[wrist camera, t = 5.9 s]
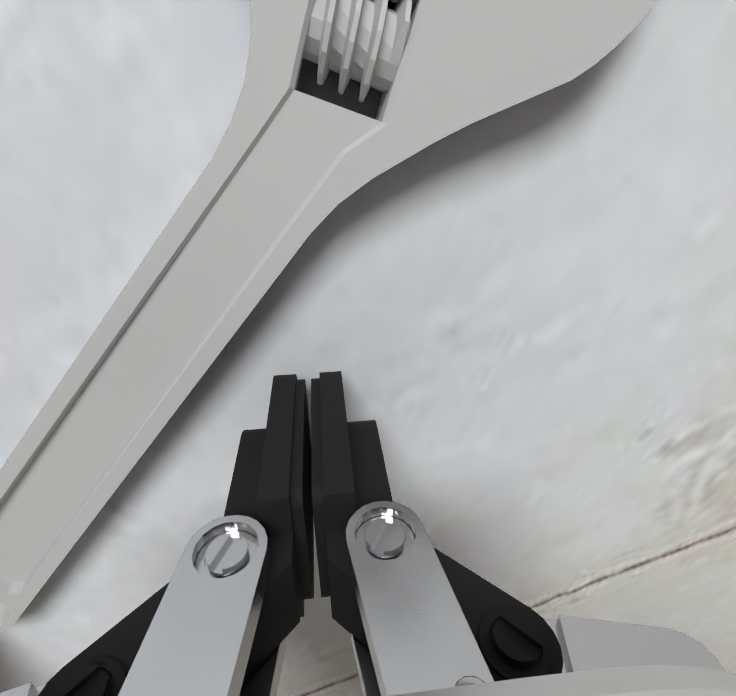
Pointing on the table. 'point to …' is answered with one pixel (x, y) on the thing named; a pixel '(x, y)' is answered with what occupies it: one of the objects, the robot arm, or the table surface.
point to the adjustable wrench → (271, 222)
